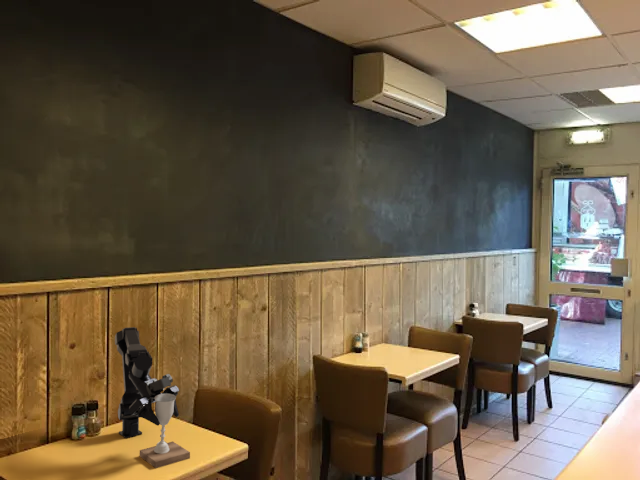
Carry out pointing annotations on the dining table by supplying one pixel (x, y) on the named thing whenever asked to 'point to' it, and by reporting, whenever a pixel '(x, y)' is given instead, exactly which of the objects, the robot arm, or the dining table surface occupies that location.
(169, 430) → the dining table surface
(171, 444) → the walnut board
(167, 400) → the chalice
